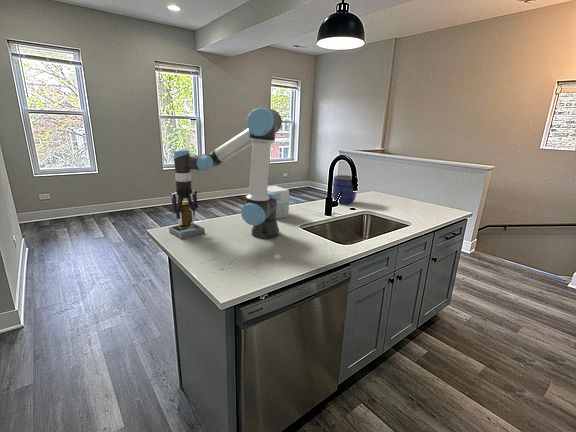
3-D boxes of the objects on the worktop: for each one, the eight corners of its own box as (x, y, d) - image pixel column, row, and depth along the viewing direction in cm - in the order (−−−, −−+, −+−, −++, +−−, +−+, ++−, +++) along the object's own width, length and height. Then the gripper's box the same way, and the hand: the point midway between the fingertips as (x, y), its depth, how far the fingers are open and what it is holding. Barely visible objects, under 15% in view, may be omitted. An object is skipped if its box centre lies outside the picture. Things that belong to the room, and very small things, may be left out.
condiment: (191, 222, 165) (190, 201, 162) (194, 227, 158) (192, 205, 154) (177, 224, 162) (175, 202, 158) (179, 228, 155) (177, 206, 151)
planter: (331, 204, 229) (333, 178, 222) (332, 199, 246) (334, 174, 240) (356, 206, 226) (358, 179, 220) (354, 200, 243) (357, 175, 237)
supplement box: (289, 216, 195) (290, 189, 190) (271, 219, 188) (272, 191, 183) (275, 210, 209) (275, 185, 204) (258, 212, 202) (258, 186, 196)
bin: (204, 233, 162) (204, 228, 161) (181, 239, 152) (181, 233, 152) (192, 227, 170) (191, 222, 170) (169, 232, 161) (168, 227, 160)
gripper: (196, 177, 162) (198, 217, 169) (161, 181, 149) (165, 225, 156) (203, 179, 157) (205, 221, 164) (168, 183, 144) (172, 228, 151)
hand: (186, 222), depth 160 cm, fingers closed on condiment, 6 cm apart
